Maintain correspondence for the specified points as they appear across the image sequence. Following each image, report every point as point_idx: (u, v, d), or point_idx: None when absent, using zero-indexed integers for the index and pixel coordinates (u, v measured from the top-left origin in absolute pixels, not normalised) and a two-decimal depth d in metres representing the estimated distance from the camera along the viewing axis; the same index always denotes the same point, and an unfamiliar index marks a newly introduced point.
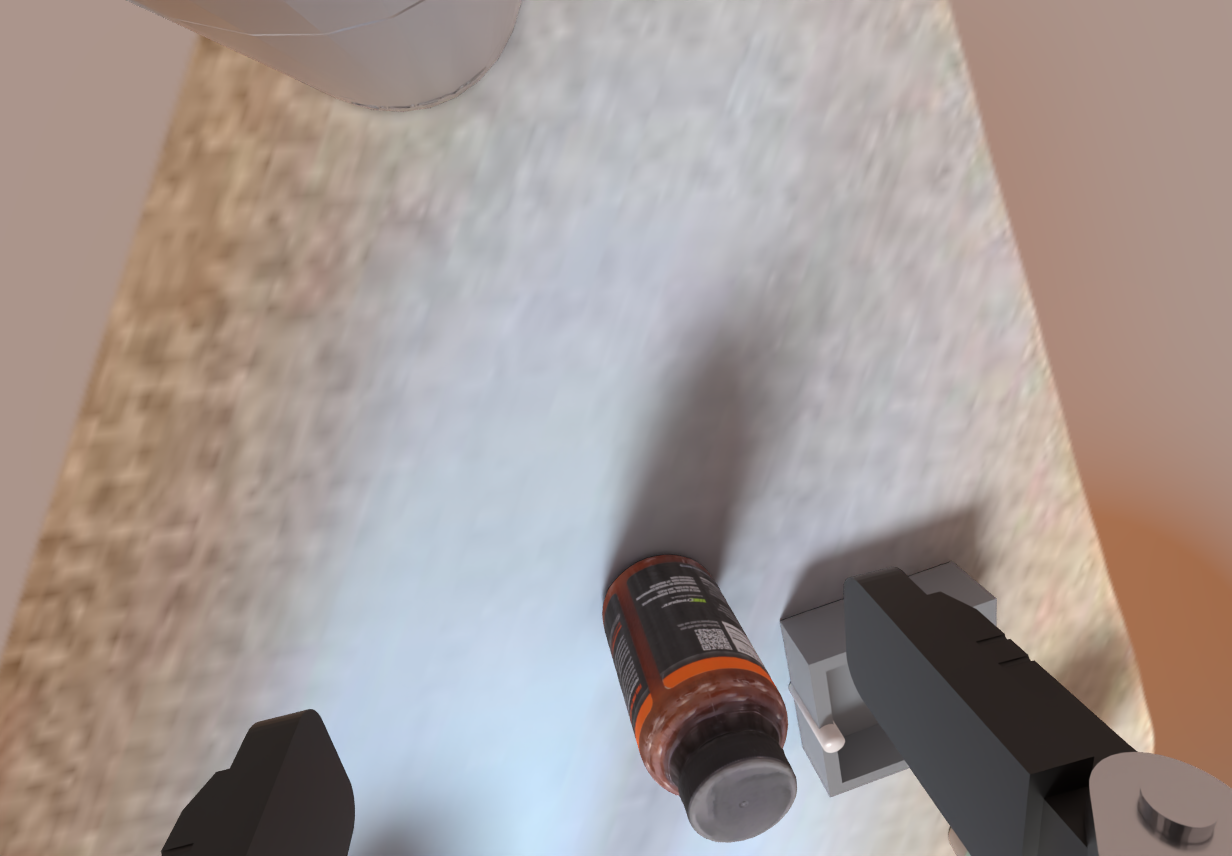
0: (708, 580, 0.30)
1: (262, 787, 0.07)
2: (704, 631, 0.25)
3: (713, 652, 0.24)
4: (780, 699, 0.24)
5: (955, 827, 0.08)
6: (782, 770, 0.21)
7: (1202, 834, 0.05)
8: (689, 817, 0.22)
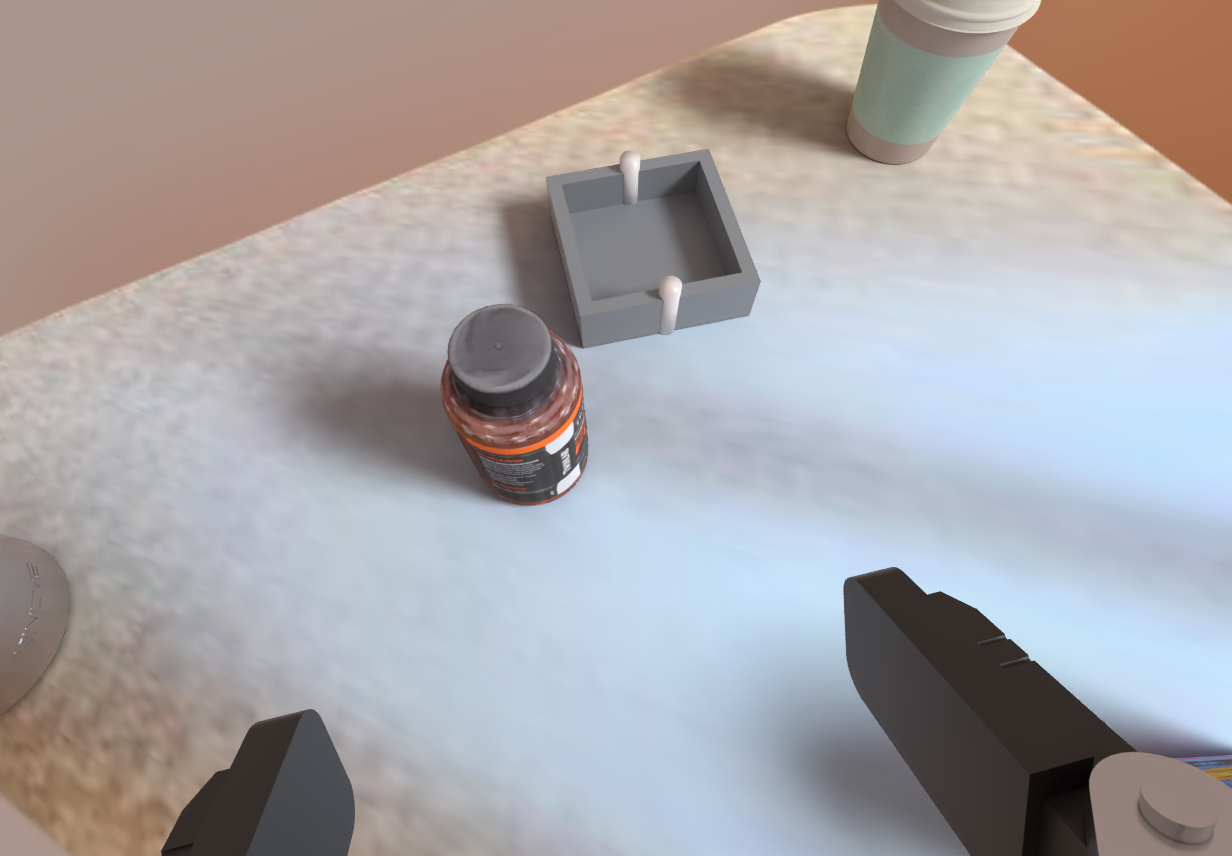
0: None
1: (262, 787, 0.07)
2: None
3: None
4: None
5: (956, 827, 0.08)
6: (470, 317, 0.25)
7: (1202, 833, 0.05)
8: (501, 391, 0.23)
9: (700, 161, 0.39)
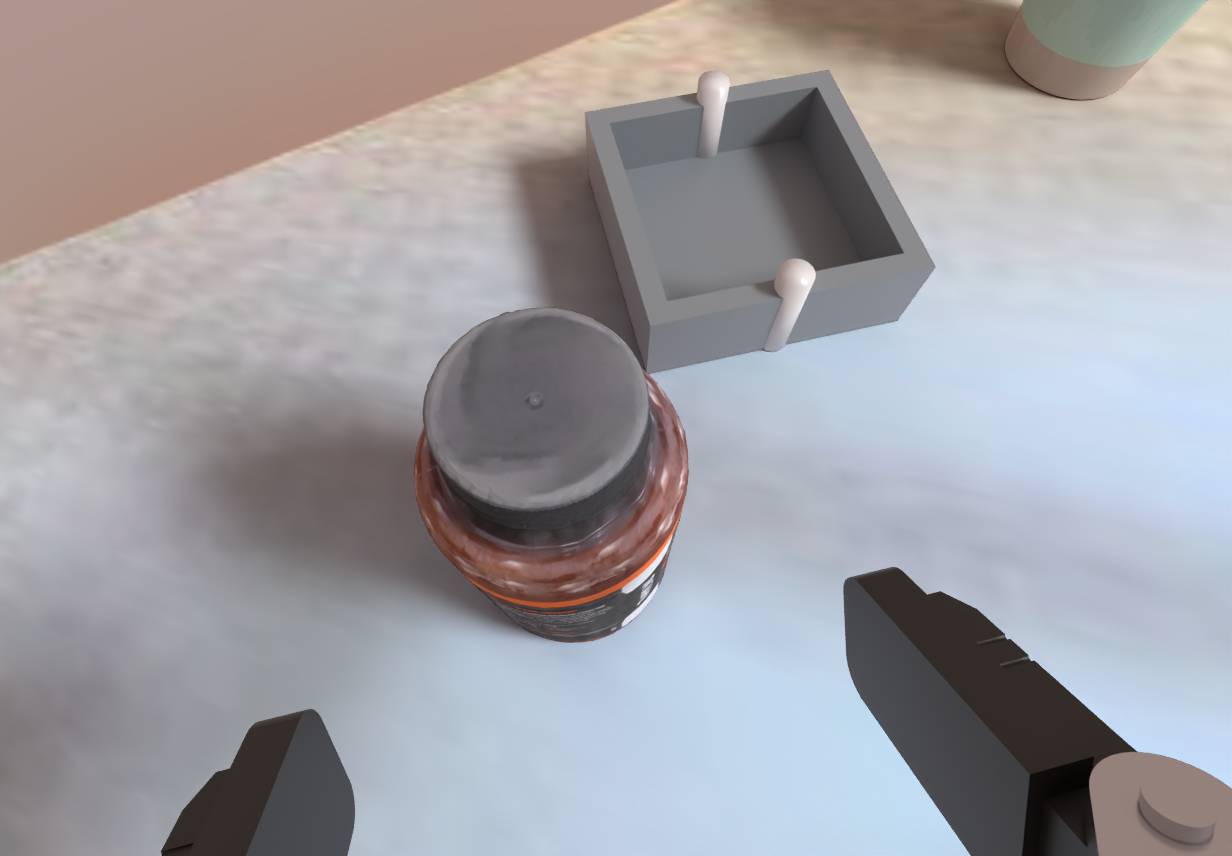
0: None
1: (262, 787, 0.07)
2: None
3: None
4: None
5: (955, 827, 0.08)
6: (472, 336, 0.12)
7: (1202, 834, 0.05)
8: (544, 507, 0.10)
9: (818, 88, 0.25)
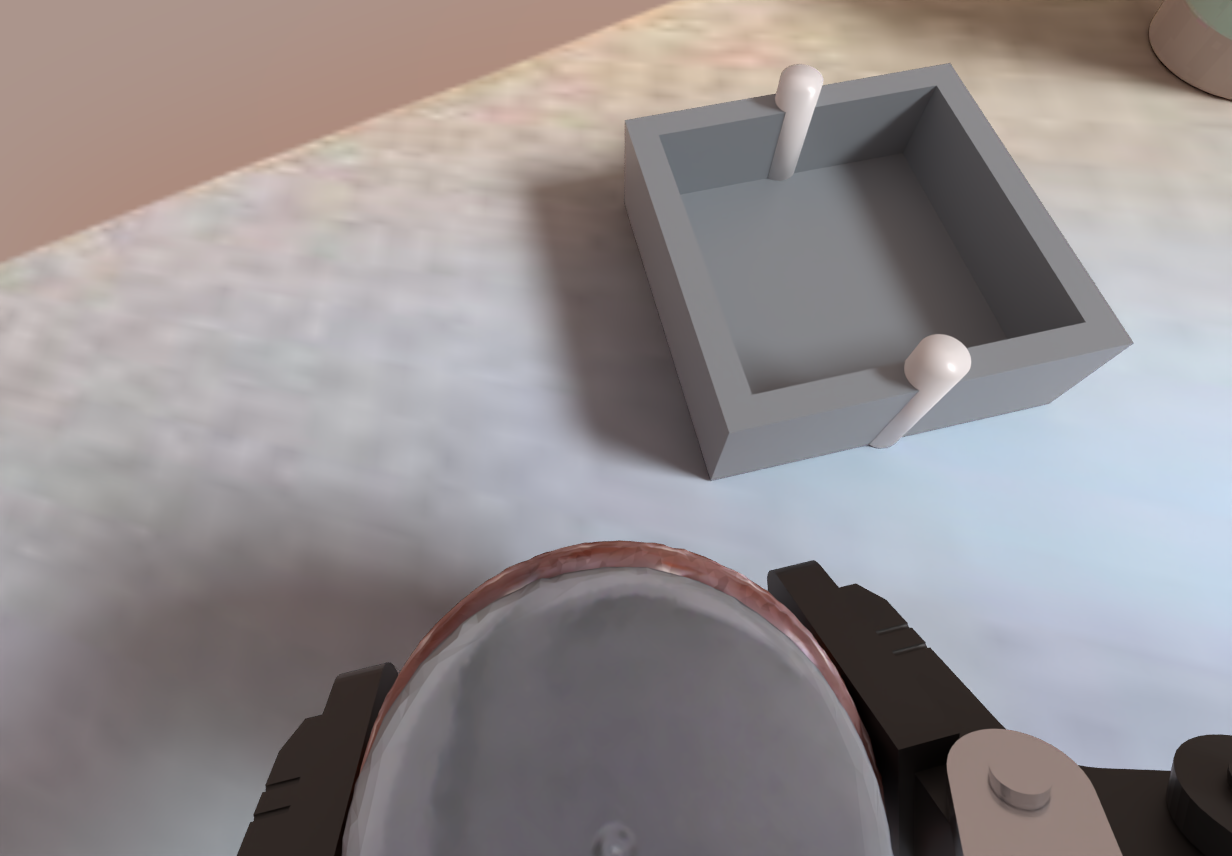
0: None
1: (357, 727, 0.08)
2: None
3: None
4: (498, 574, 0.08)
5: None
6: (463, 651, 0.05)
7: (1036, 800, 0.06)
8: None
9: (938, 87, 0.19)
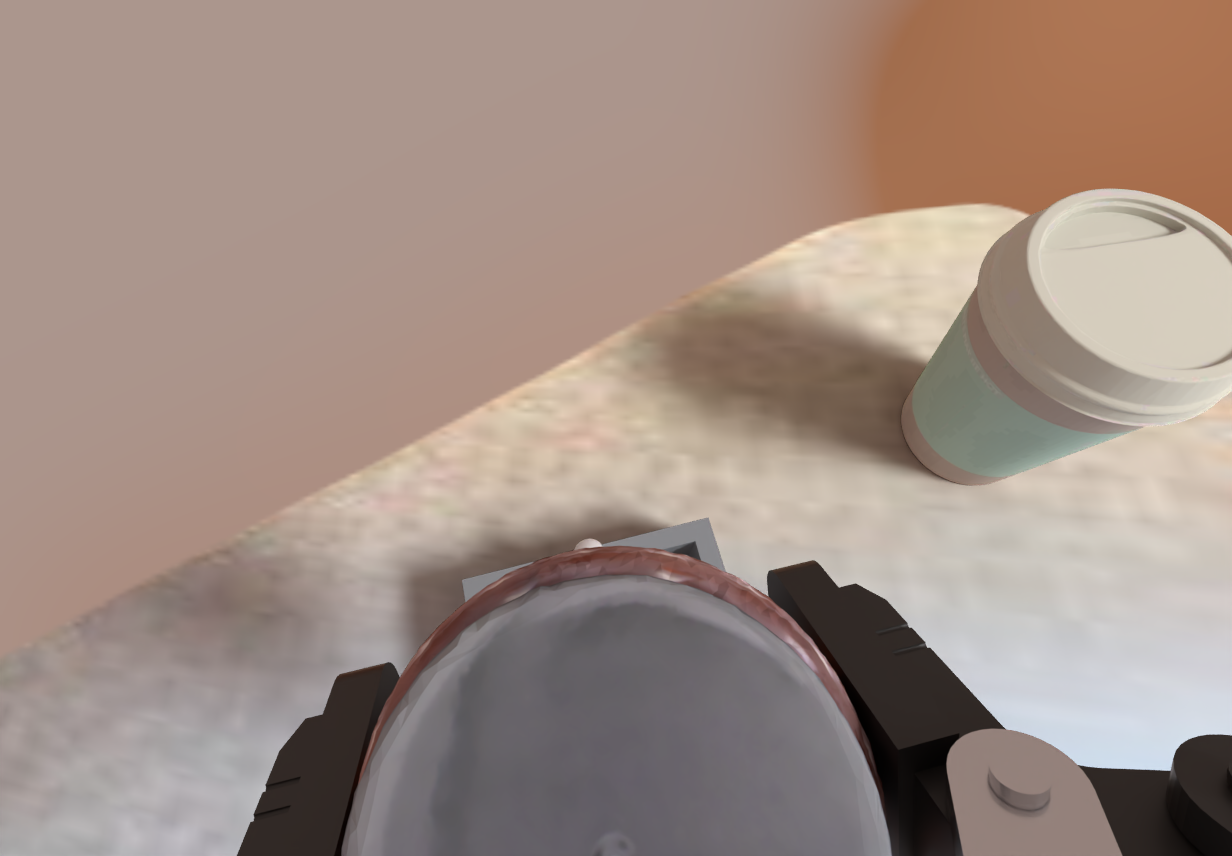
0: None
1: (358, 727, 0.08)
2: None
3: None
4: (498, 580, 0.08)
5: None
6: (463, 660, 0.05)
7: (1036, 800, 0.06)
8: None
9: (696, 543, 0.26)
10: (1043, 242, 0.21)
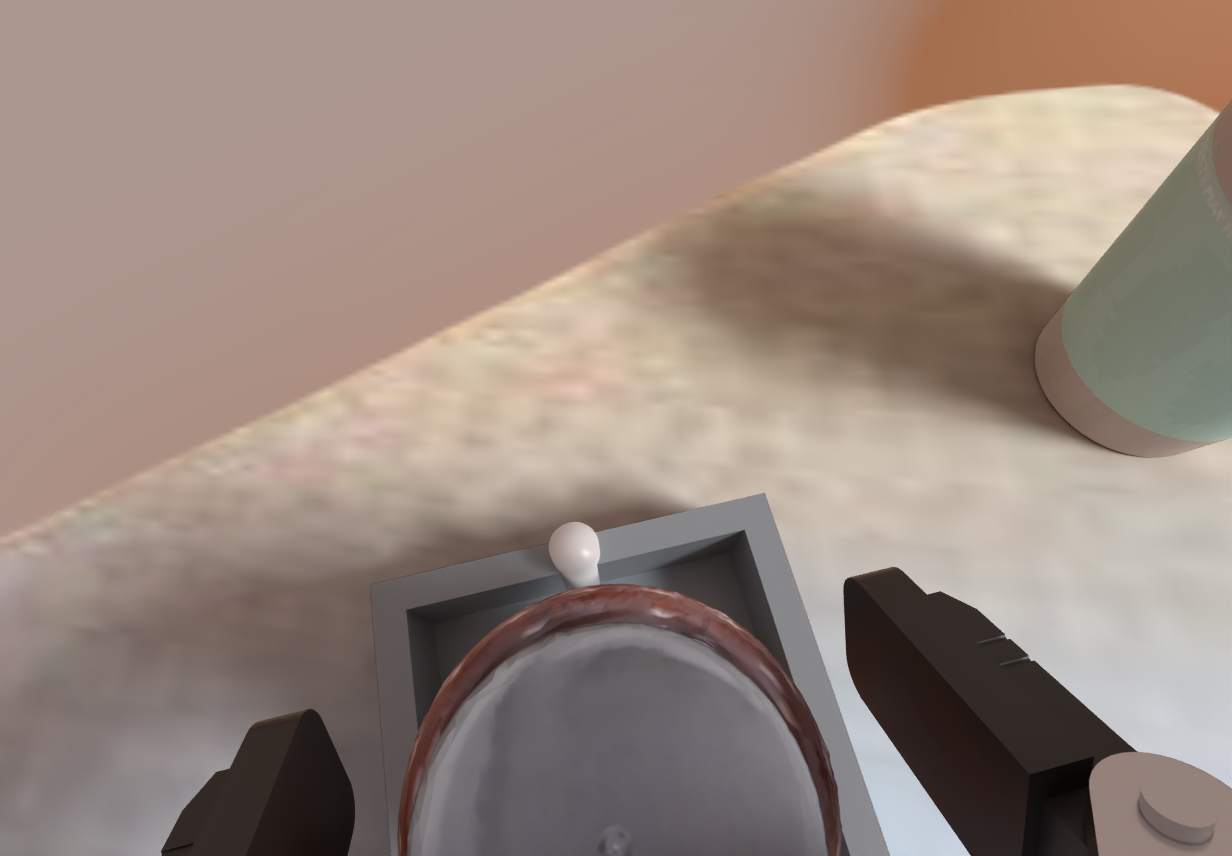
0: None
1: (262, 787, 0.07)
2: None
3: None
4: (516, 614, 0.09)
5: (956, 827, 0.08)
6: (497, 692, 0.06)
7: (1202, 833, 0.05)
8: None
9: (746, 532, 0.16)
10: None
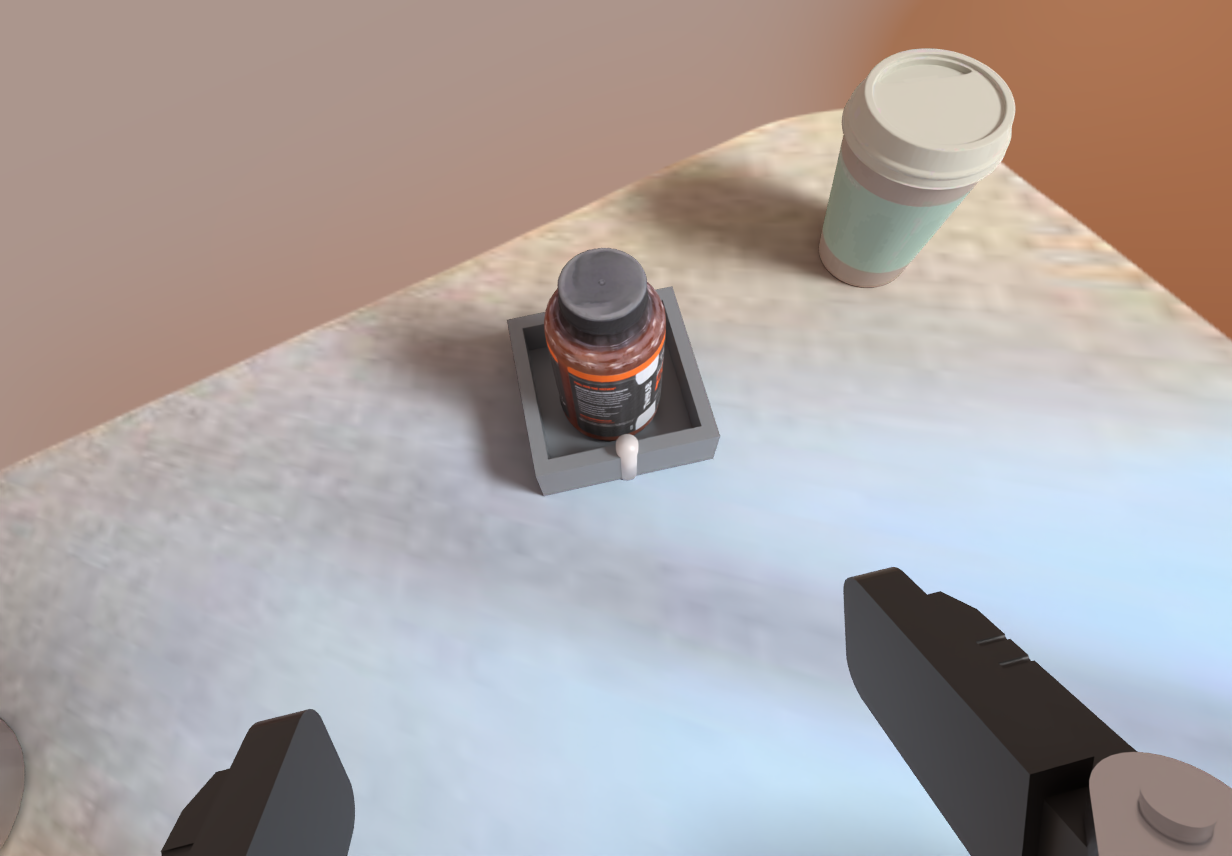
0: None
1: (262, 787, 0.07)
2: None
3: None
4: None
5: (955, 827, 0.08)
6: (575, 259, 0.29)
7: (1202, 833, 0.05)
8: (606, 319, 0.27)
9: (663, 301, 0.38)
10: (878, 79, 0.33)
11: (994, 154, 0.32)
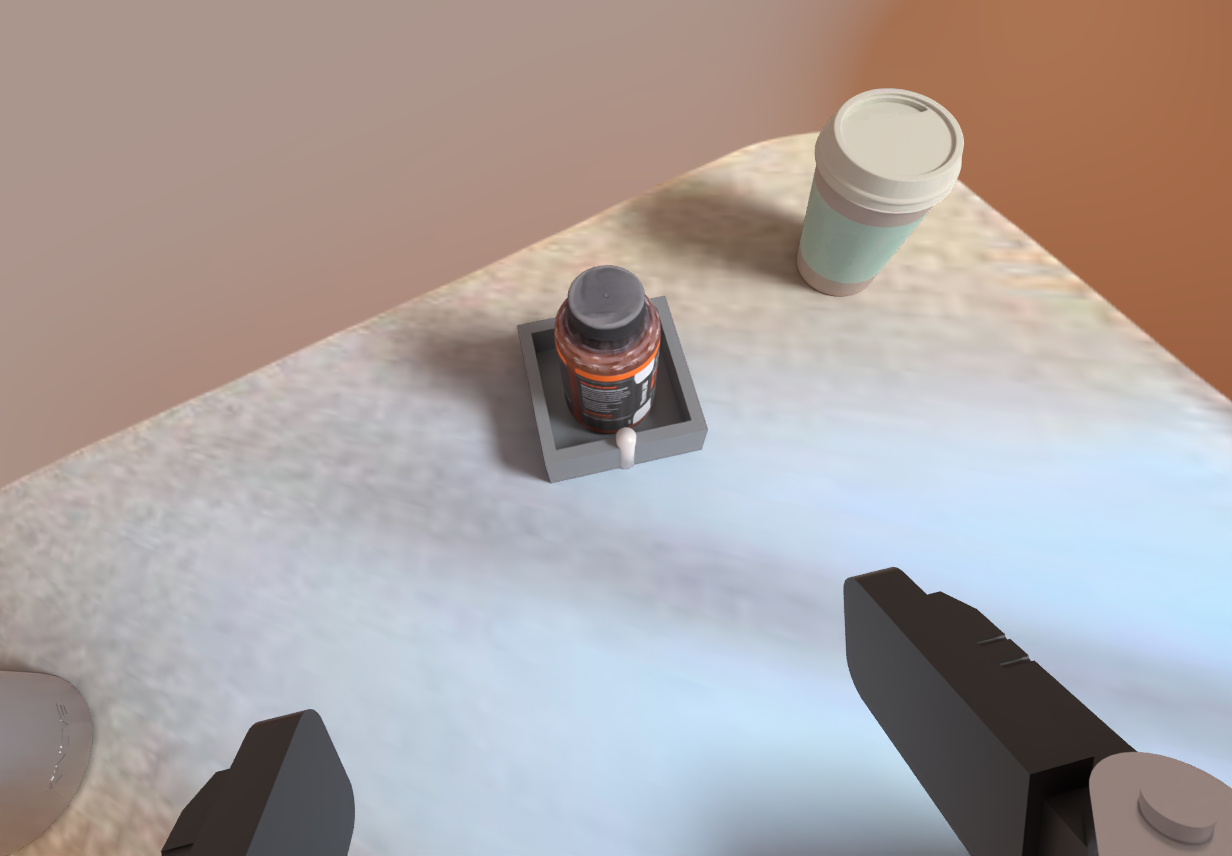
0: None
1: (262, 787, 0.07)
2: None
3: None
4: None
5: (956, 827, 0.08)
6: (583, 274, 0.33)
7: (1202, 834, 0.05)
8: (610, 328, 0.32)
9: (657, 308, 0.43)
10: (846, 115, 0.38)
11: (945, 183, 0.37)
